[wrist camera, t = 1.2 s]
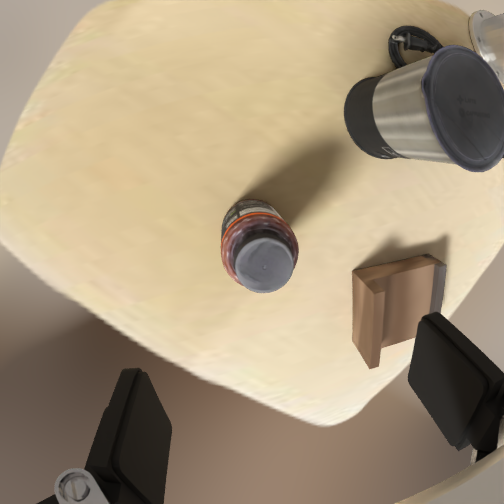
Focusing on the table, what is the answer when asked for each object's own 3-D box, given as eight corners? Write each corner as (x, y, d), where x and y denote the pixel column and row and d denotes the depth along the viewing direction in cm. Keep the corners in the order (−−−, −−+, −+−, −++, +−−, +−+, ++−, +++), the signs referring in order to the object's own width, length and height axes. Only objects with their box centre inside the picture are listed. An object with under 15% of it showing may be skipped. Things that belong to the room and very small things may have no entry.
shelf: (431, 253, 34) (459, 270, 28) (424, 319, 37) (447, 341, 31) (352, 270, 33) (374, 293, 28) (352, 340, 37) (369, 369, 31)
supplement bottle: (271, 260, 32) (293, 314, 21) (216, 247, 31) (210, 299, 21) (287, 205, 30) (319, 236, 20) (229, 191, 29) (231, 214, 19)
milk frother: (347, 162, 29) (435, 177, 15) (321, 23, 24) (383, -45, 10) (448, 154, 30) (541, 170, 16) (426, 34, 24) (508, 3, 10)
